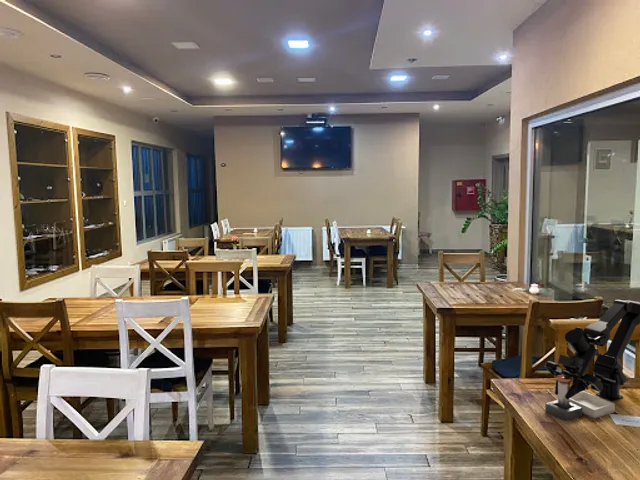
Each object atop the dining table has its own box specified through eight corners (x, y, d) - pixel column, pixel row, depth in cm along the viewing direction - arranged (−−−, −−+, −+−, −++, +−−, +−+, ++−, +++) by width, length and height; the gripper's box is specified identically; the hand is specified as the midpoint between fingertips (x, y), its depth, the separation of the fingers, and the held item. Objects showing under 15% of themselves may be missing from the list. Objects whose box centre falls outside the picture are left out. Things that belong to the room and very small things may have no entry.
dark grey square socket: (561, 406, 168) (562, 398, 168) (582, 416, 161) (582, 407, 161) (545, 411, 165) (545, 403, 165) (565, 421, 158) (565, 412, 158)
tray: (583, 398, 174) (583, 390, 174) (614, 412, 163) (614, 403, 163) (563, 404, 170) (563, 396, 170) (594, 418, 159) (594, 410, 159)
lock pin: (562, 409, 166) (563, 374, 165) (574, 415, 162) (574, 378, 161) (553, 412, 164) (553, 376, 163) (564, 418, 160) (565, 381, 159)
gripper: (547, 339, 171) (526, 374, 167) (598, 353, 154) (575, 394, 150) (562, 355, 175) (541, 391, 171) (612, 372, 158) (591, 411, 155)
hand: (561, 396), depth 162 cm, fingers closed on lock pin, 4 cm apart
